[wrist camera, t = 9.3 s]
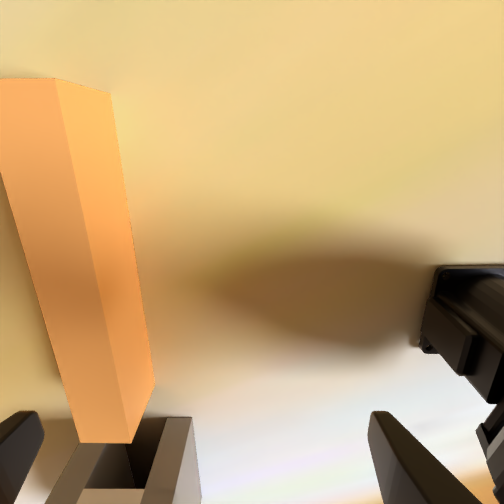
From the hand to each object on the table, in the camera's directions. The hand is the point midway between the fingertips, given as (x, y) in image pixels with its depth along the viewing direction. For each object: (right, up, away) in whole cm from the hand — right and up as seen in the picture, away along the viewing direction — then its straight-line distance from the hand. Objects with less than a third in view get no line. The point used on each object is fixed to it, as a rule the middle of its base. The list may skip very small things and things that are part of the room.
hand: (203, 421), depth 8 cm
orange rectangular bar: (-8, +4, +12) cm, 15 cm away
